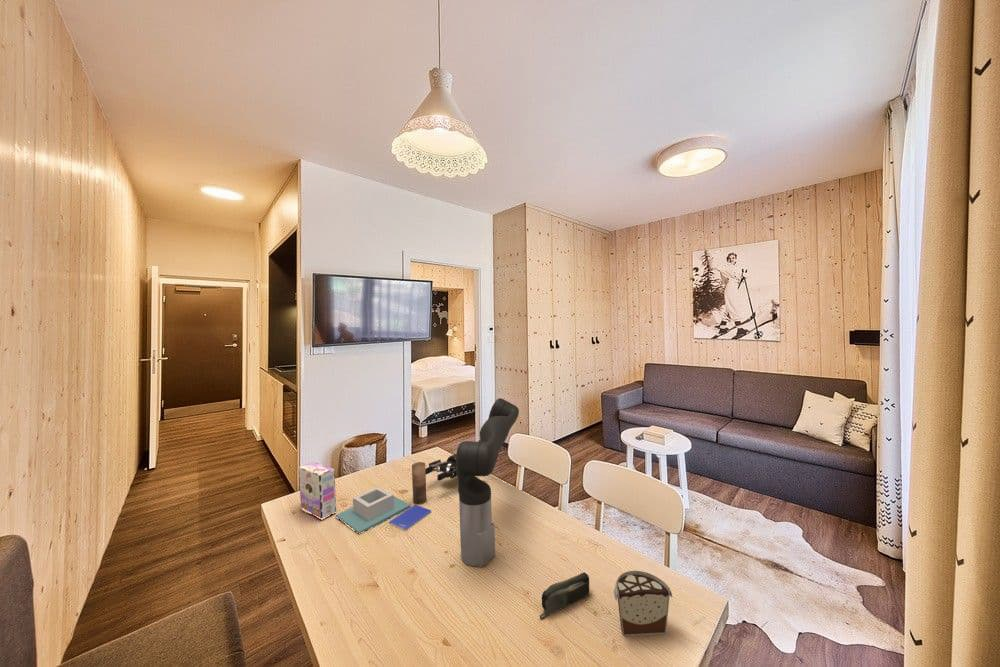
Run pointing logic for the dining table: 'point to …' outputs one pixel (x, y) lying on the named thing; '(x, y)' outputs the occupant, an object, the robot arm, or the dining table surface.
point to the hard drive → (410, 517)
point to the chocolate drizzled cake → (642, 603)
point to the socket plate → (372, 509)
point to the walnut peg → (419, 483)
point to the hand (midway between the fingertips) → (430, 475)
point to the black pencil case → (565, 593)
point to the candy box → (317, 489)
